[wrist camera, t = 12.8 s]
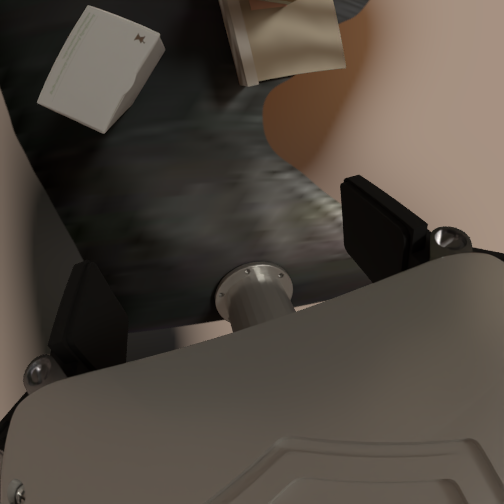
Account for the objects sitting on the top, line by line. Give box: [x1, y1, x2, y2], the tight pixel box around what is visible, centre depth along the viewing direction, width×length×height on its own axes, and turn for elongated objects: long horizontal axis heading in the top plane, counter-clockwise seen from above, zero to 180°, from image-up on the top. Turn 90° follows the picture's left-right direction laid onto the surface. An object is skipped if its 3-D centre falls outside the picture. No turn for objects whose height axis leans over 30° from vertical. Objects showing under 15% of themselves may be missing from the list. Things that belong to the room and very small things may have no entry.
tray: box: [218, 0, 346, 87], centre depth 26 cm, size 18×14×4 cm
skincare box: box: [37, 6, 165, 134], centre depth 22 cm, size 8×7×16 cm
